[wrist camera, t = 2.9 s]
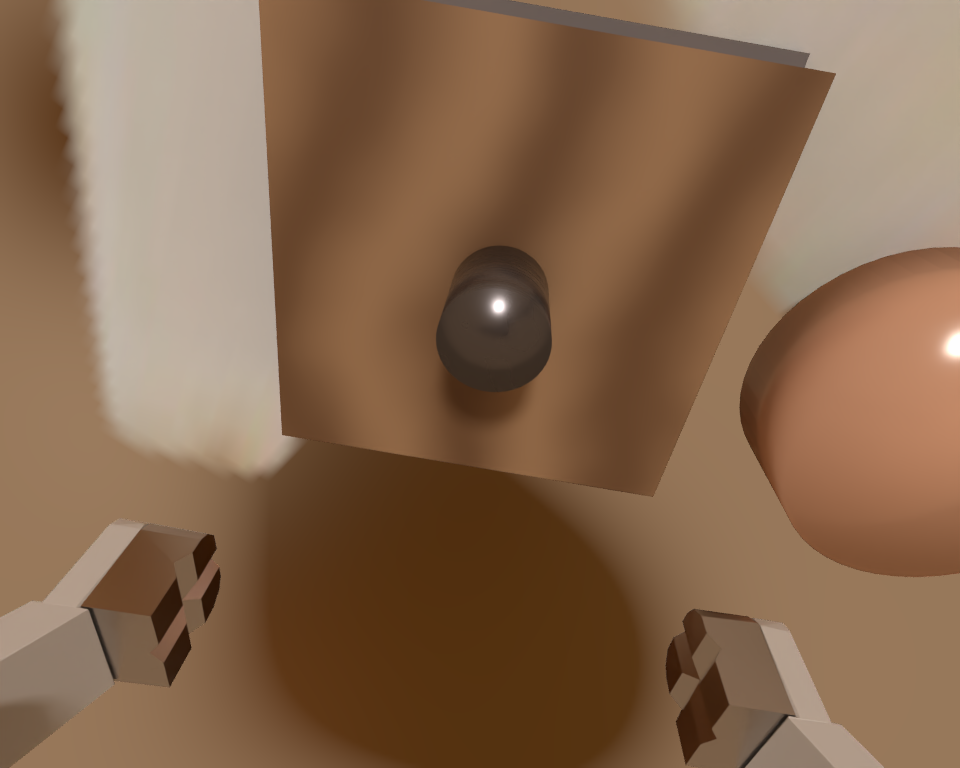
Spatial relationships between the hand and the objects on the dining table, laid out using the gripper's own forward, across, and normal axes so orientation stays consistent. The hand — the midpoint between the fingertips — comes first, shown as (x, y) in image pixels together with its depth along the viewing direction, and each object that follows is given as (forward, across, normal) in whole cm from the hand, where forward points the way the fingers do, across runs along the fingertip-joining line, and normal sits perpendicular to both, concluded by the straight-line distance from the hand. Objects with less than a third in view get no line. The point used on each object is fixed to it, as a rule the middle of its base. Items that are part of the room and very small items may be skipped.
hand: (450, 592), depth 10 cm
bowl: (+17, -17, +2) cm, 24 cm away
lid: (+17, 0, 0) cm, 17 cm away
